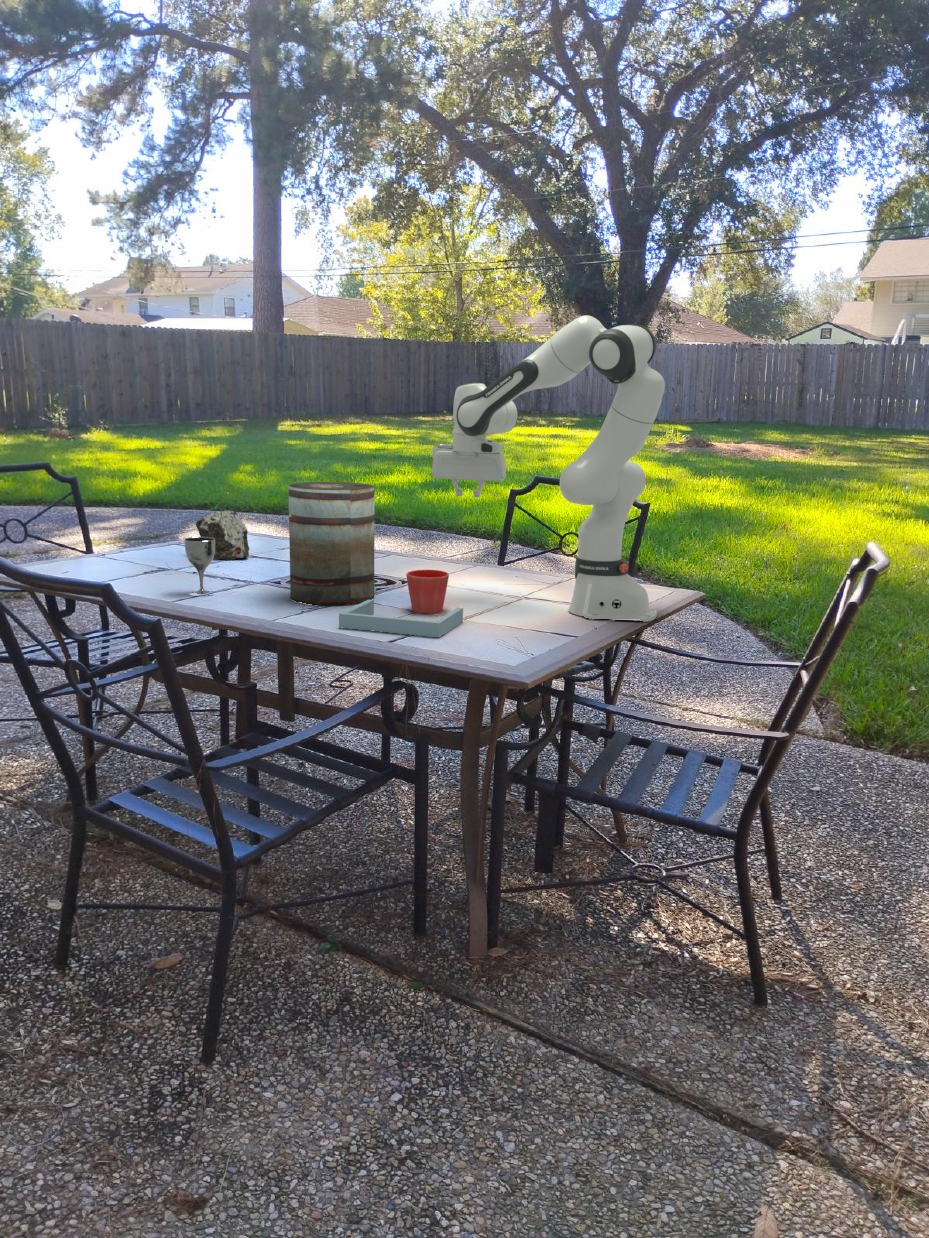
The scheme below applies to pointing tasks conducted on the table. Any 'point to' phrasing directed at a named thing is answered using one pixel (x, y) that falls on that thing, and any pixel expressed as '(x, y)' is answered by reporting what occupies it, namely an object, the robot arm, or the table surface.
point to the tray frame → (397, 621)
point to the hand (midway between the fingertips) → (468, 496)
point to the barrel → (331, 543)
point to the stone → (225, 534)
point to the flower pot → (427, 590)
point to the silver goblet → (200, 555)
